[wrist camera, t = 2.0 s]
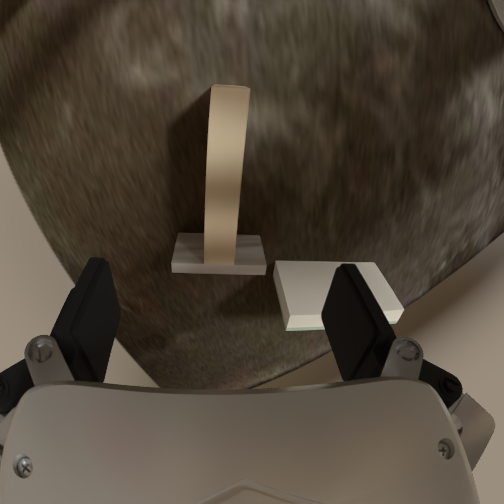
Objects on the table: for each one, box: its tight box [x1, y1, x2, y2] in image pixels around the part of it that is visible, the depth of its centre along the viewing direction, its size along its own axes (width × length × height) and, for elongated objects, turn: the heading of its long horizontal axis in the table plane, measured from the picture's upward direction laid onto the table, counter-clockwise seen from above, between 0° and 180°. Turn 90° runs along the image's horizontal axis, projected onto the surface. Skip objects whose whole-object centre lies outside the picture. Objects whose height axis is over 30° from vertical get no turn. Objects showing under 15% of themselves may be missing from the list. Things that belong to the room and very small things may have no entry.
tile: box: [273, 261, 404, 331], centre depth 29 cm, size 12×2×8 cm, turn 84°
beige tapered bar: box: [171, 85, 267, 275], centre depth 23 cm, size 15×8×5 cm, turn 174°
